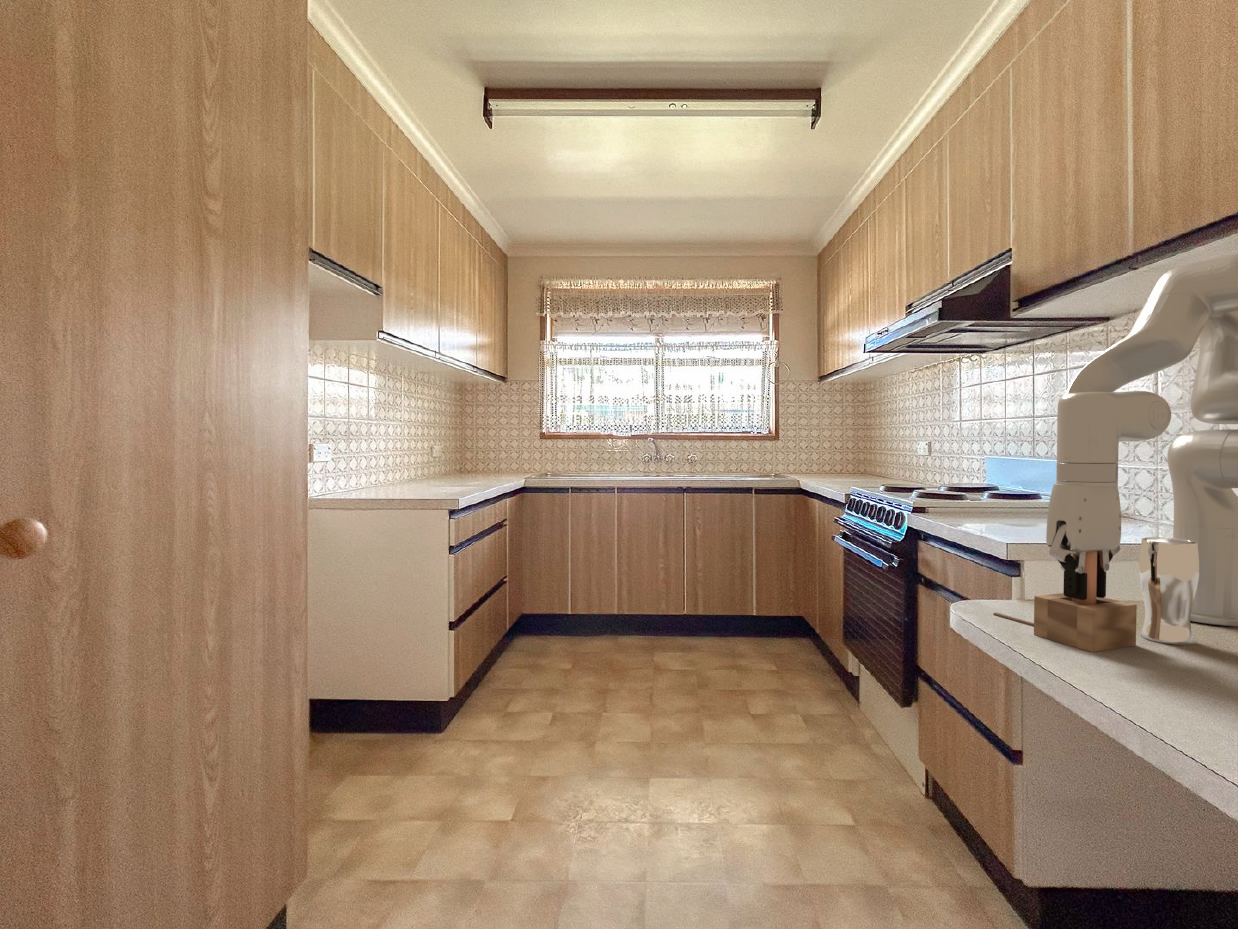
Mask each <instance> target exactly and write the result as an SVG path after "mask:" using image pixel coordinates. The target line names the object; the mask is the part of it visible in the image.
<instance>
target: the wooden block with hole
mask: <svg viewBox="0 0 1238 929" xmlns="http://www.w3.org/2000/svg"><path fill="white" fill-rule="evenodd" d="M1033 598H1034V600H1033V601H1034V603H1033V604H1034V606H1033V610H1034V611H1033V612H1034V614H1033V623H1034V626H1033V635H1035V636H1038V637H1040V638H1043V639H1048V640H1051V641H1054V642H1057V643H1061V644H1064V645H1068V646H1071V647H1073V648H1078V649H1081V650H1083V651H1087V652H1092V653H1094V652H1099V651H1106V650H1114V649H1120V648H1121V649H1122V648H1128V647H1133V646H1136V645H1137V615H1138V613H1137V612H1138V611H1137V610H1138V608H1137V606H1138V605H1137V604H1135V603H1131V602H1126V601H1123V600H1122V601H1121V600H1117V599H1112V598H1108V597H1104V598H1099V597H1096V604H1094V605H1086V604H1081V603H1077V602H1073V601H1072V598H1070V597H1066V596H1064V592H1061V593H1051V594H1042V595H1034V597H1033Z"/></svg>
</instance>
